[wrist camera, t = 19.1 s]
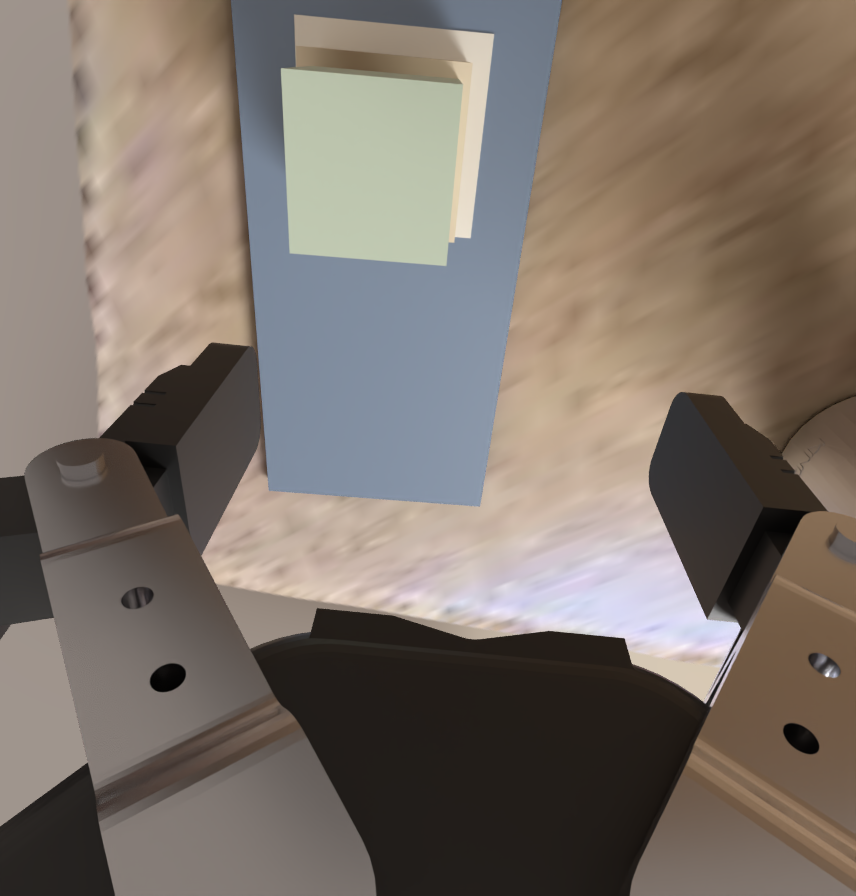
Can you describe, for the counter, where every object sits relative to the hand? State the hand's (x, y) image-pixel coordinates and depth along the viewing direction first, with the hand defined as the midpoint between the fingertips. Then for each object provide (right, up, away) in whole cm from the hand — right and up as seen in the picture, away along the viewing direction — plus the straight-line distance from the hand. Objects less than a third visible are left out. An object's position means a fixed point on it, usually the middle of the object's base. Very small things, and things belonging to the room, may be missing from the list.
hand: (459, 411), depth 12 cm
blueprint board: (-3, +8, +19) cm, 21 cm away
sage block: (-2, +10, +10) cm, 15 cm away
